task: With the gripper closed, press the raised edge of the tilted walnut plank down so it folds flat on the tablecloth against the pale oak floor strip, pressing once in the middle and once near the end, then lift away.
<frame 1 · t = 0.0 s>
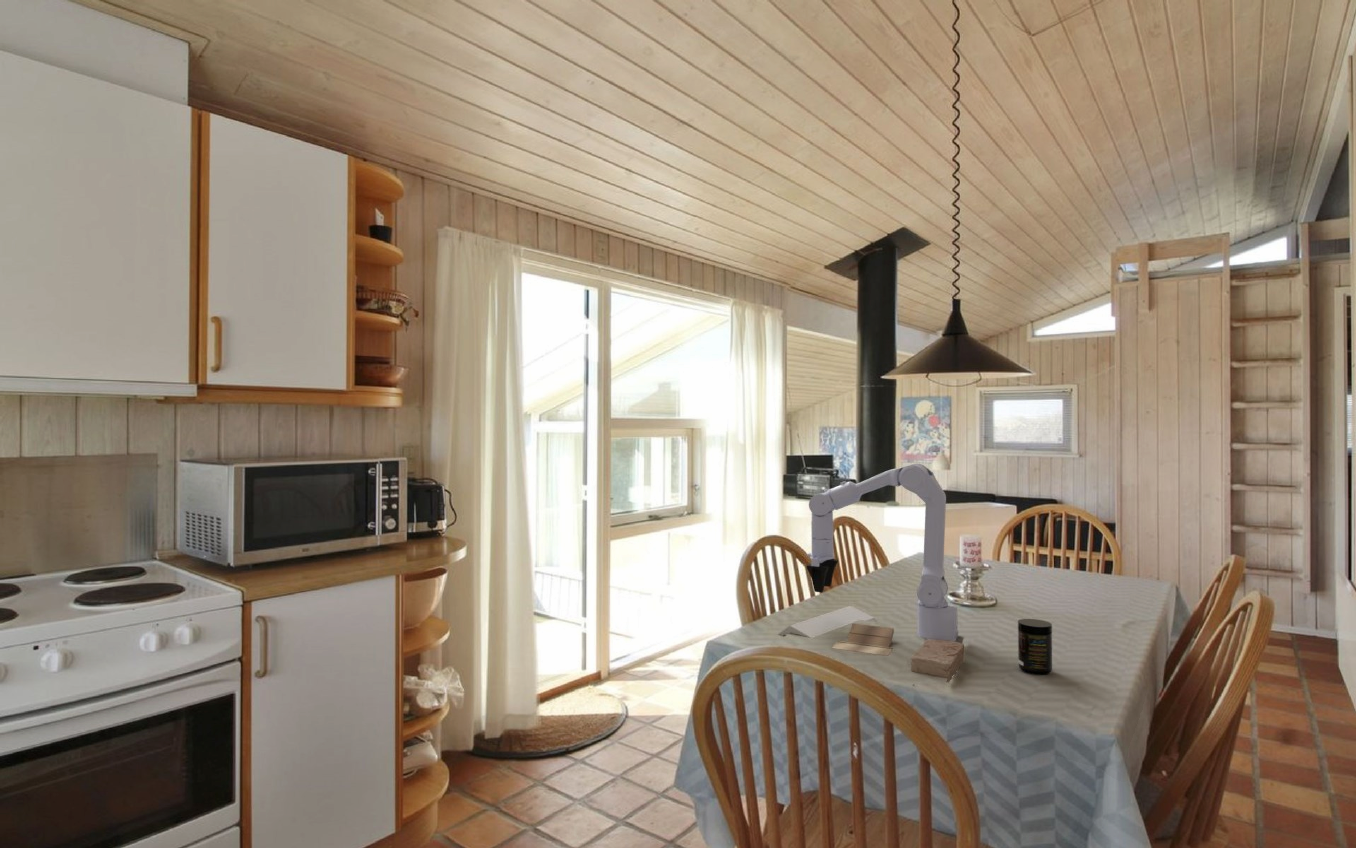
hand: (822, 589, 193), 10 cm above the table, tool pointing down, fingers open, 7 cm apart
brick: (938, 671, 159), on the table
crown molding: (828, 630, 192), on the table
floor strip: (862, 653, 170), on the table
supplement container: (1035, 671, 157), on the table
plank: (870, 637, 176), point 2 cm above the table, hinge at 25.0°
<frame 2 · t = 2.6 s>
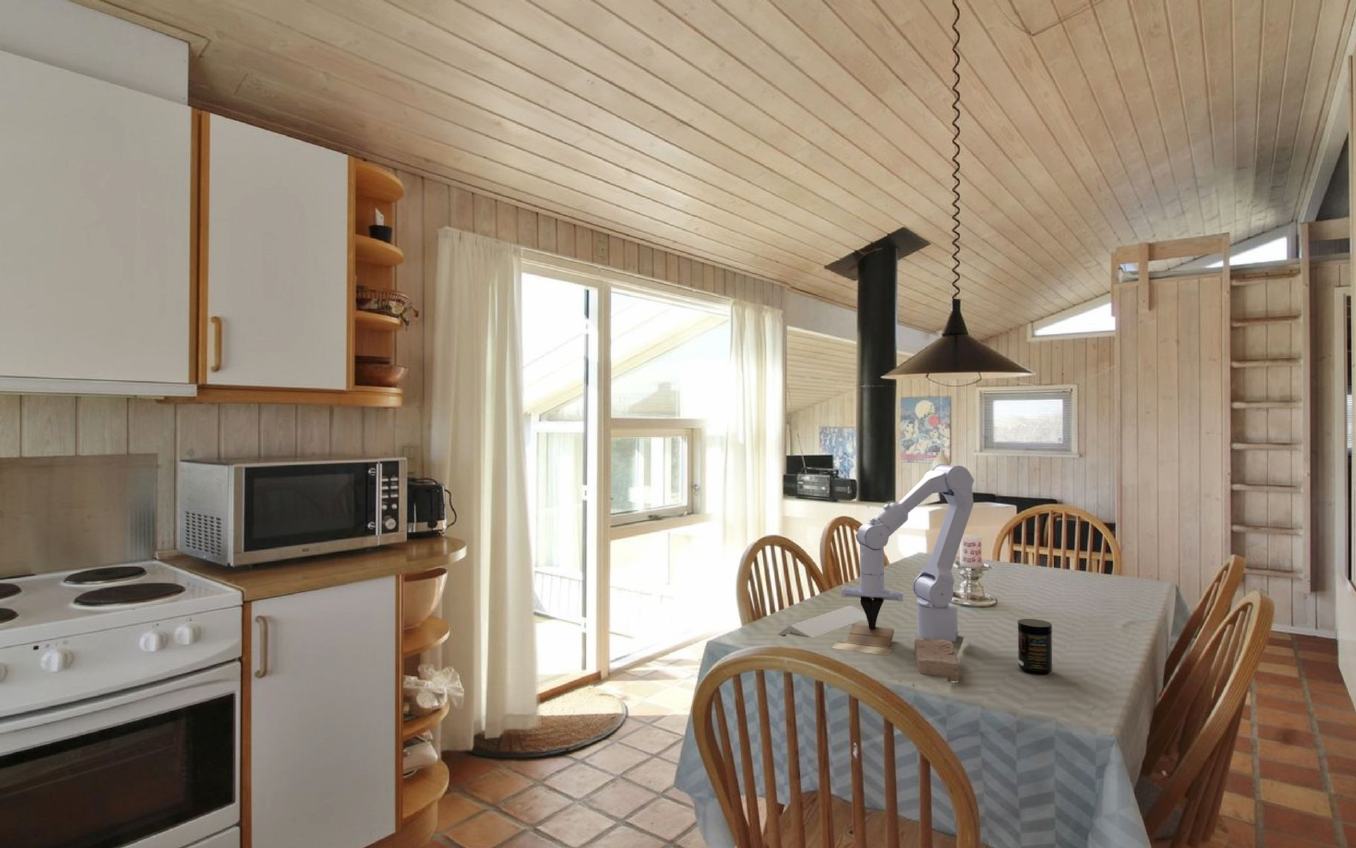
hand: (872, 628, 178), 4 cm above the table, tool pointing down, fingers closed, pressing on plank
plank: (870, 637, 176), point 2 cm above the table, hinge at 23.6°, touching gripper
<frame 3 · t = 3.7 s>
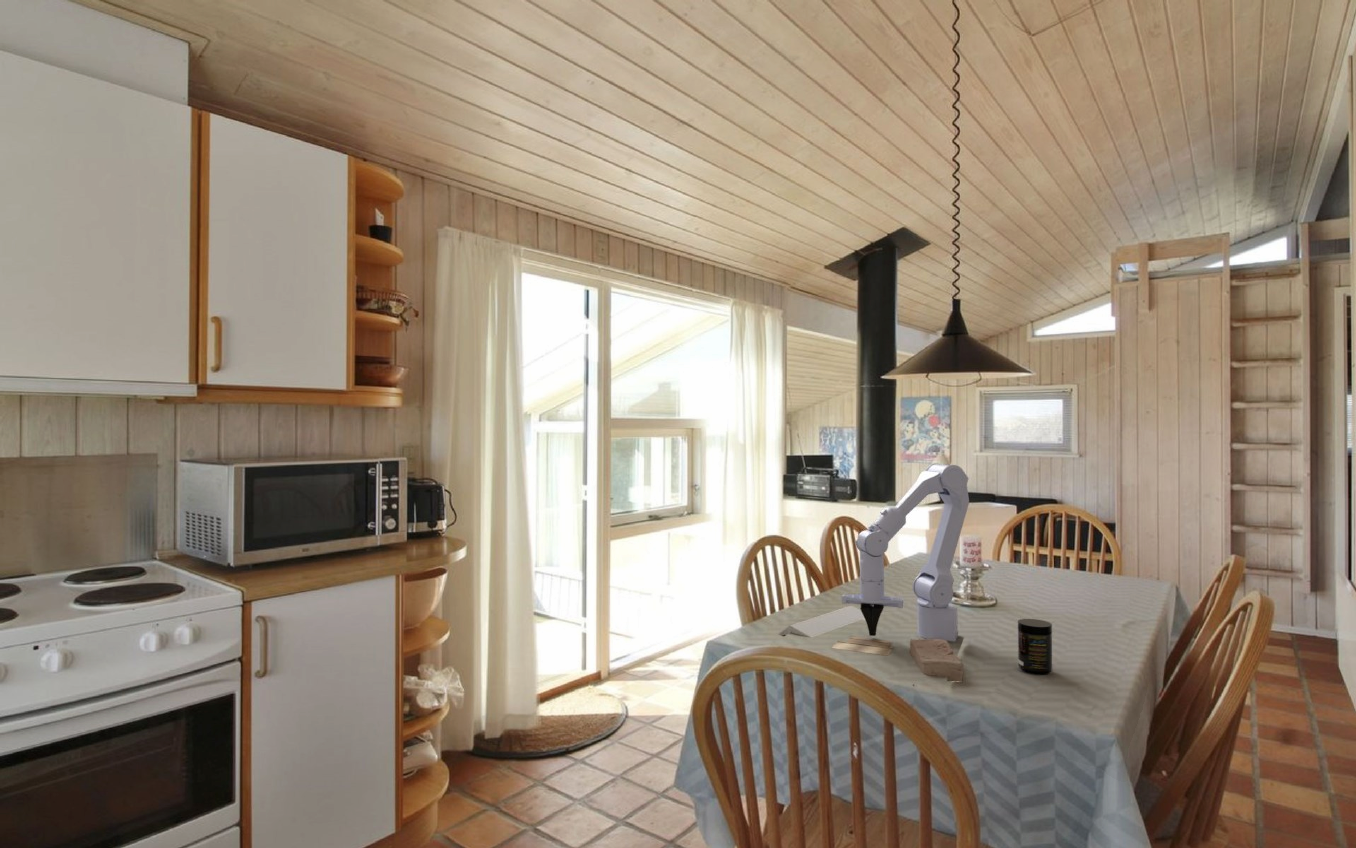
hand: (872, 634, 178), 2 cm above the table, tool pointing down, fingers closed
plank: (870, 643, 176), point 1 cm above the table, hinge at -0.6°
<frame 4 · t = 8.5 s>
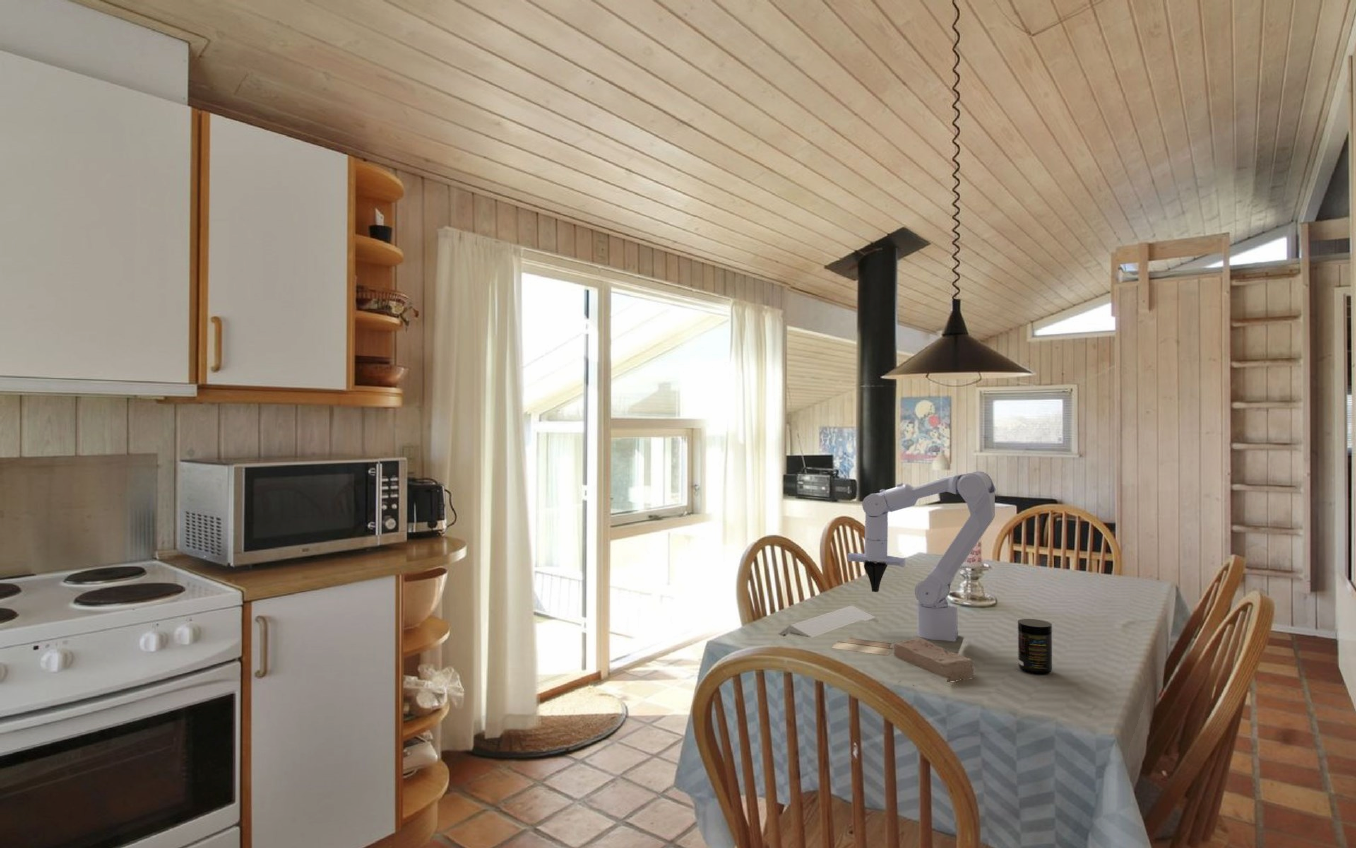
hand: (875, 591, 189), 10 cm above the table, tool pointing down, fingers closed
at the end: plank at -1° (first picture: +25°) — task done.
